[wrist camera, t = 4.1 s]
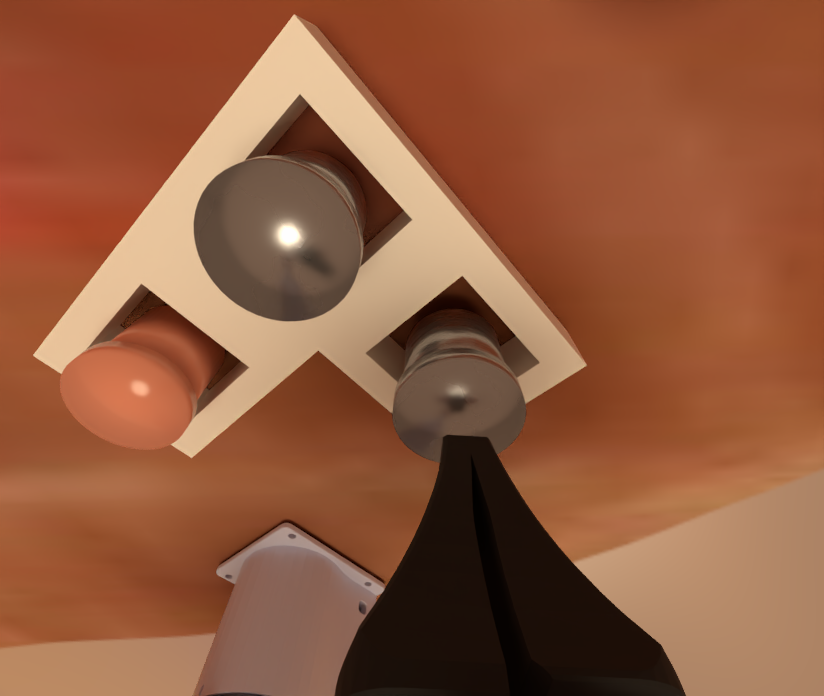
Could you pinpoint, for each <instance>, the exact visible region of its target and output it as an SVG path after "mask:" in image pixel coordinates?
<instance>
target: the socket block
mask: <svg viewBox="0 0 824 696" xmlns="http://www.w3.org/2000/svg"><path fill="white" fill-rule="evenodd" d="M309 104H310V106H311V107H312V108H313V109H314V110H315V111H316V112H317V113H318V115H319V116H320V117H321V118H322V119H323V120H324V121H325V122H326V124H327V125H328V126H329V127H330V128H331V129H332V130H333V131H334V132H335V134H336V135H337V136H338V137H339V138H340V139H341V140H342V141H343V143H344V144H345V145H346V146H347V147H348V148H349V149H350V150H351V152H352V153H353V154H354V155H355V156H356V157H357V158H358V159H359V161H360V162H361V163H362V164H363V165H364V166H365V167H366V168H367V169H368V171H369V172H370V173H371V174H372V175H373V176H374V177H375V178H376V180H377V181H378V182H379V183H380V184H381V185H382V186H383V187H384V189H385V190H386V191H387V192H388V193H389V194H390V195H391V196H392V197H393V199H394V200H395V201H396V202H397V203H398V204H399V205H400V206H401V208H402V209H403V210H404V211H402V212H401V213H400V214H399V215H398V216H397V217H396V218H395V219H394V220H393V221H392V222H391V223H389V224H388V225H387V226H386V227H385V228H384V229H383V230H382V231H381V232H380V233H379V234H378V235H376V236H375V237H374V238H373V239H372V240H371V241H370V242H369V243H368V244H367V245H366V246H365V247H364V248H363V255H362V260H361V265H360V267H359V270H358V273H357V276H356V279H355V281H354V284H353V285H352V287H351V289H350V291H349V292H348V294H347V295H346V297H345V298H344V299H343V300H342V301H341V302H340V303H339V304H338V305H337V306H335V307H334V308H333V309H332V310H330V311H328V312H326V313H325V314H323V315H320V316H318V317H315V318H312V319H308V320H303V321H277V320H272V319H268V318H264V317H261V316H258V315H256V314H254V313H251V312H249V311H247V310H245V309H244V308H242V307H240V306H239V305H237V304H236V303H234V302H233V301H232V300H230V299H229V298H228V297H227V296H226V295H225V294H224V293H223V292H221V290H220V289H219V288H218V287H217V286H216V285H215V284H214V282H213V281H212V280H211V278H210V277H209V275H208V274H207V272H206V270H205V268H204V267H203V265H202V263H201V260H200V258H199V255H198V252H197V249H196V245H195V239H194V216H195V210H196V207H197V204H198V201H199V199H200V197H201V195H202V192H203V191H204V190H205V188H206V187H207V185H208V184H209V183H210V182H211V181H212V180H213V179H214V178H215V177H216V176H217V175H218V174H220V173H221V172H222V171H224V170H225V169H227V168H229V167H231V166H233V165H236V164H238V163H240V162H243V161H245V160H248V159H251V158H254V157H260V156H266V155H267V153H268V152H269V151H270V150H271V149H272V148H273V146H274V145H275V144H276V143H277V142H278V141H279V139H280V138H281V137H282V136H283V135H284V134H285V132H286V131H287V130H288V129H289V128H290V127H291V125H292V124H293V123H294V122H295V121H296V120H297V118H298V117H299V116H300V115H301V114H302V113H303V111H304V110H305V109H306V108H307V107H308V106H309ZM461 276H463V277H464V278H465V279H466V280H467V282H468V283H469V284H470V285H471V286H472V287H473V288H474V289H475V290H476V292H477V293H478V294H479V295H480V296H481V297H482V298H483V299H484V301H485V302H486V303H487V304H488V305H489V306H490V307H491V308H492V310H493V311H494V312H495V313H496V314H497V315H498V316H499V317H500V318H501V320H502V321H503V322H504V323H505V324H506V325H507V326H508V327H509V329H510V330H511V331H512V332H513V333H514V334H515V335H516V336H515V337H513V338H512V339H510V340H509V341H508V342H506V343H505V344H503V345H502V346H500V349H501V352H502V356H503V359H504V363H505V364H506V365H508V366H509V367H510V369H511V370H512V371H513V372H514V374H515V375H516V377H517V379H518V381H519V384H520V387H521V390H522V393H523V396H524V399H525V404H526V403H527V402H529V401H531V400H532V399H534V398H535V397H537V396H539V395H540V394H542V393H543V392H545V391H547V390H548V389H550V388H551V387H553V386H555V385H556V384H558V383H559V382H561V381H563V380H564V379H566V378H567V377H569V376H571V375H572V374H574V373H576V372H577V371H579V370H580V369H582V368H584V367H585V366H587V365H586V363H585V361H584V359H583V358H582V356H581V354H580V352H579V351H578V349H577V347H576V345H575V344H574V342H573V340H572V339H571V337H570V335H569V333H568V332H567V330H566V329H565V328H564V327H563V325H562V324H561V323H560V322H559V320H558V319H557V318H556V317H555V316H554V314H553V313H552V312H551V311H550V310H549V308H548V307H547V306H546V305H545V303H544V302H543V301H542V300H541V299H540V297H539V296H538V295H537V294H536V293H535V291H534V290H533V289H532V288H531V286H530V285H529V284H528V283H527V282H526V280H525V279H524V278H523V277H522V275H521V274H520V273H519V272H518V271H517V269H516V268H515V267H514V266H513V265H512V263H511V262H510V261H509V260H508V258H507V257H506V256H505V255H504V254H503V252H502V251H501V250H500V249H499V247H498V246H497V245H496V244H495V243H494V241H493V240H492V239H491V238H490V237H489V235H488V234H487V233H486V232H485V230H484V229H483V228H482V227H481V226H480V224H479V223H478V222H477V221H476V220H475V218H474V217H473V216H472V215H471V213H470V212H469V211H468V210H467V209H466V207H465V206H464V205H463V204H462V202H461V201H460V200H459V199H458V198H457V196H456V195H455V194H454V193H453V192H452V190H451V189H450V188H449V187H448V185H447V184H446V183H445V182H444V181H443V179H442V178H441V177H440V176H439V175H438V173H437V172H436V171H435V170H434V168H433V167H432V166H431V165H430V164H429V162H428V161H427V160H426V159H425V157H424V156H423V155H422V154H421V153H420V151H419V150H418V149H417V148H416V147H415V145H414V144H413V143H412V142H411V140H410V139H409V138H408V137H407V136H406V134H405V133H404V132H403V131H402V129H401V128H400V127H399V126H398V125H397V123H396V122H395V121H394V120H393V119H392V117H391V116H390V115H389V114H388V112H387V111H386V110H385V109H384V108H383V106H382V105H381V104H380V103H379V102H378V100H377V99H376V98H375V97H374V95H373V94H372V93H371V92H370V91H369V89H368V88H367V87H366V86H365V84H364V83H363V82H362V81H361V80H360V78H359V77H358V76H357V75H356V74H355V72H354V71H353V70H352V69H351V67H350V66H349V65H348V64H347V63H346V61H345V60H344V59H343V58H342V56H341V55H340V54H339V53H338V52H337V50H336V49H335V48H334V47H333V46H332V44H331V43H330V42H329V41H328V39H327V38H326V37H325V36H324V35H323V33H322V32H321V31H320V30H319V29H318V27H317V26H315V25H314V24H312V23H310V22H308V21H306V20H304V19H302V18H300V17H299V16H297V15H295V14H294V15H293V17H292V18H291V19H290V21H289V22H288V23H287V24H286V26H285V27H284V28H283V30H282V31H281V32H280V34H279V35H278V36H277V38H276V39H275V40H274V41H273V43H272V44H271V45H270V47H269V48H268V49H267V51H266V52H265V53H264V55H263V56H262V57H261V58H260V60H259V61H258V62H257V64H256V65H255V66H254V68H253V69H252V70H251V71H250V73H249V74H248V75H247V77H246V78H245V79H244V81H243V82H242V83H241V85H240V86H239V87H238V88H237V90H236V91H235V92H234V94H233V95H232V96H231V98H230V99H229V100H228V102H227V103H226V104H225V105H224V107H223V108H222V109H221V111H220V112H219V113H218V115H217V116H216V117H215V118H214V120H213V121H212V122H211V124H210V125H209V126H208V128H207V129H206V130H205V132H204V133H203V134H202V135H201V137H200V138H199V139H198V141H197V142H196V143H195V145H194V146H193V147H192V148H191V150H190V151H189V152H188V154H187V155H186V156H185V158H184V159H183V160H182V162H181V163H180V164H179V165H178V167H177V168H176V169H175V171H174V172H173V173H172V175H171V176H170V177H169V179H168V180H167V181H166V182H165V184H164V185H163V186H162V188H161V189H160V190H159V192H158V193H157V194H156V195H155V197H154V198H153V199H152V201H151V202H150V203H149V205H148V206H147V207H146V209H145V210H144V211H143V212H142V214H141V215H140V216H139V218H138V219H137V220H136V222H135V223H134V224H133V226H132V227H131V228H130V229H129V231H128V232H127V233H126V235H125V236H124V237H123V239H122V240H121V241H120V242H119V244H118V245H117V246H116V248H115V249H114V250H113V252H112V253H111V254H110V256H109V257H108V258H107V259H106V261H105V262H104V263H103V265H102V266H101V267H100V269H99V270H98V271H97V272H96V274H95V275H94V276H93V278H92V279H91V280H90V282H89V283H88V284H87V286H86V287H85V288H84V289H83V291H82V292H81V293H80V295H79V296H78V297H77V299H76V300H75V301H74V303H73V304H72V305H71V306H70V308H69V309H68V310H67V312H66V313H65V314H64V316H63V317H62V318H61V319H60V321H59V322H58V323H57V325H56V326H55V327H54V329H53V330H52V331H51V333H50V334H49V335H48V336H47V338H46V339H45V340H44V342H43V343H42V344H41V346H40V347H39V348H38V350H37V351H36V352H35V353H34V355H33V356H34V357H36V358H37V359H39V360H41V361H42V362H44V363H45V364H47V365H48V366H50V367H51V368H53V369H55V370H56V371H58V372H59V373H61V374H62V372H63V370H64V369H65V367H66V366H67V365H68V364H69V363H70V362H71V361H72V360H73V359H75V358H76V357H77V356H79V355H80V354H81V353H82V352H84V351H85V350H86V349H88V348H89V347H91V346H93V345H95V344H98V343H102V342H107V341H111V340H112V339H114V338H115V337H116V336H117V335H119V334H120V333H121V332H122V331H124V330H125V328H123V327H122V326H120V325H121V324H122V323H123V322H124V320H125V319H126V318H127V317H128V316H129V315H130V313H131V312H132V311H133V310H134V309H135V308H136V306H137V305H138V304H139V303H140V302H141V301H142V299H143V298H144V297H145V296H146V295H147V294H148V292H149V291H152V292H153V293H154V294H156V295H157V296H158V297H159V298H161V299H162V300H163V301H165V302H166V303H167V304H168V305H170V306H171V307H172V308H174V309H175V310H176V311H177V312H179V313H180V314H181V315H183V316H184V317H185V318H186V319H188V320H189V321H190V322H192V323H193V324H194V325H195V326H197V327H198V328H199V329H201V330H202V331H203V332H204V333H206V334H207V335H208V336H210V337H211V338H212V339H213V340H215V341H216V342H217V343H219V344H220V345H221V346H222V347H224V348H225V349H226V350H228V351H229V352H230V353H231V354H233V355H234V356H235V357H237V358H238V359H239V360H240V362H239V363H238V364H237V365H236V366H235V367H234V368H233V369H232V370H231V371H229V372H228V373H227V374H226V375H225V376H224V377H223V378H222V379H221V380H220V381H219V382H218V383H216V384H215V385H214V386H213V387H212V388H211V389H210V390H209V389H207V388H206V389H205V390H204V392H203V393H202V394H201V396H200V397H199V399H198V400H197V410H196V414H195V416H194V418H193V420H192V422H191V423H190V424H189V426H188V427H187V429H186V430H185V432H184V433H183V435H182V436H181V437H180V438H179V439H178V440H177V441H175V442H174V443H172V444H171V445H172V446H174V447H175V448H177V449H178V450H180V451H182V452H183V453H185V454H186V455H188V456H189V457H191V458H192V457H193V456H195V455H196V454H197V453H198V452H199V451H200V450H202V449H203V448H204V447H205V446H206V445H208V444H209V443H210V442H211V441H212V440H213V439H215V438H216V437H217V436H218V435H219V434H220V433H222V432H223V431H224V430H225V429H226V428H228V427H229V426H230V425H231V424H232V423H233V422H235V421H236V420H237V419H238V418H239V417H240V416H242V415H243V414H244V413H245V412H246V411H248V410H249V409H250V408H251V407H252V406H253V405H255V404H256V403H257V402H258V401H259V400H260V399H262V398H263V397H264V396H265V395H266V394H268V393H269V392H270V391H271V390H272V389H273V388H275V387H276V386H277V385H278V384H279V383H281V382H282V381H283V380H284V379H285V378H286V377H288V376H289V375H290V374H291V373H292V372H293V371H295V370H296V369H297V368H298V367H299V366H301V365H302V364H303V363H304V362H305V361H306V360H308V359H309V358H310V357H311V356H312V355H313V354H315V353H316V352H317V351H319V352H321V353H322V354H323V355H324V356H325V357H326V358H328V359H329V360H330V361H331V362H332V363H333V364H335V365H336V366H337V367H338V368H339V369H340V370H342V371H343V372H344V373H345V374H346V375H347V376H349V377H350V378H351V379H352V380H353V381H354V382H356V383H357V384H358V385H359V386H360V387H361V388H363V389H364V390H365V391H366V392H367V393H368V394H370V395H371V396H372V397H373V398H374V399H375V400H377V401H378V402H379V403H380V404H381V405H382V406H384V407H385V408H386V409H387V410H388V411H389V412H391V413H392V412H393V401H394V393H395V389H396V385H397V383H398V381H399V379H400V378H401V376H402V375H403V373H404V366H405V352H406V351H405V350H404V349H403V348H401V347H400V346H399V345H398V344H397V343H396V342H395V341H394V340H393V339H392V338H391V337H390V336H389V334H390V333H391V332H392V331H394V330H395V329H396V328H397V327H399V326H400V325H401V324H402V323H404V322H405V321H406V320H407V319H409V318H410V317H411V316H412V315H414V314H415V313H416V312H417V311H419V310H420V309H421V308H422V307H424V306H425V305H426V304H427V303H429V302H430V301H431V300H432V299H434V298H435V297H436V296H437V295H439V294H440V293H441V292H442V291H444V290H445V289H446V288H447V287H449V286H450V285H451V284H452V283H454V282H455V281H456V280H457V279H459V278H460V277H461Z"/></svg>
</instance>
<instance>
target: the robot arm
mask: <svg viewBox="0 0 824 696" xmlns="http://www.w3.org/2000/svg"><path fill="white" fill-rule="evenodd" d="M216 573H217V575H219V576H220V577H222V578H224V579H226V580H228V581H229V582H231V583H233V584H235V585H234V588H233V591H232V593H231V596H230V599H229V601H228V604H227V606H226V609H225V612H224V614H223V617H222V620H221V622H220V625H219V627H218V630H217V633H216V635H215V638H214V641H213V643H212V646H211V649H210V651H209V654H208V656H207V659H206V662H205V664H204V667H203V670H202V672H201V675H200V678H199V681H198V683H197V686H196V688H195V691H194V693H193V696H686V695H685V692H684V690H683V688H682V685H681V683H680V680H679V678H678V676H677V674H676V672H675V670H674V668H673V666H672V664H671V662H670V661H669V659H668V657H667V655H666V653H665V652H664V650H663V648H662V646H661V644H659V643H658V642H657V641H656V640H655V639H653V638H652V637H651V636H650V635H648V634H647V633H646V632H645V631H644V630H643V629H641V628H640V627H639V626H638V625H637V624H635V623H634V622H633V621H632V620H631V619H629V618H628V617H627V616H626V615H625V614H624V613H622V612H621V611H620V610H619V609H618V608H617V607H616V606H615V605H614V604H613V603H612V602H611V601H610V600H609V599H607V598H606V597H605V596H604V595H603V594H602V593H601V592H600V591H599V590H598V589H597V588H596V587H595V586H594V585H593V584H592V582H591V581H589V579H587V577H586V576H585V575H584V574H582V572H581V571H580V570H579V569H578V568H577V567H576V566H575V565H574V564H573V563H572V562H571V560H570V559H569V558H568V557H567V556H566V555H565V554H564V552H563V551H562V550H561V549H560V548H559V547H558V545H557V544H556V543H555V542H554V540H553V539H552V538H551V537H550V536H549V534H548V533H547V532H546V530H545V529H544V528H543V526H542V525H541V524H540V522H539V521H538V520H537V518H536V517H535V515H534V514H533V513H532V511H531V510H530V508H529V507H528V506H527V504H526V503H525V501H524V500H523V498H522V496H521V495H520V493H519V492H518V490H517V488H516V487H515V485H514V484H513V482H512V480H511V479H510V477H509V475H508V474H507V472H506V470H505V468H504V467H503V465H502V463H501V461H500V459H499V457H498V456H497V454H496V452H495V450H494V447H493V445H492V443H491V441H490V440H489V438H488V437H480V436H461V435H446V436H444V437H443V440H442V448H441V457H440V466H439V472H438V476H437V479H436V483H435V486H434V489H433V492H432V495H431V498H430V500H429V503H428V506H427V508H426V511H425V513H424V516H423V518H422V521H421V523H420V525H419V527H418V529H417V532H416V534H415V536H414V538H413V540H412V542H411V544H410V546H409V548H408V550H407V552H406V553H405V555H404V557H403V559H402V561H401V563H400V565H399V566H398V568H397V570H396V571H395V573H394V575H393V576H392V578H391V579H390V581H389V583H388V584H387V586H386V588H385V584H384V583H382V582H381V581H379V580H378V579H376V578H375V577H373V576H372V575H370V574H368V573H367V572H365V571H364V570H362V569H361V568H359V567H358V566H356V565H354V564H353V563H351V562H350V561H348V560H347V559H345V558H344V557H342V556H340V555H339V554H337V553H336V552H334V551H333V550H331V549H330V548H328V547H326V546H325V545H323V544H322V543H320V542H319V541H317V540H316V539H314V538H312V537H311V536H309V535H308V534H306V533H305V532H303V531H302V530H300V529H298V528H297V527H295V526H294V525H292V524H290V523H283V524H281V525H279V526H278V527H276V528H275V529H273V530H272V531H270V532H269V533H267V534H266V535H264V536H263V537H261V538H260V539H258V540H257V541H255V542H254V543H252V544H251V545H249V546H248V547H246V548H245V549H243V550H242V551H240V552H239V553H237V554H236V555H234V556H233V557H231V558H230V559H228V560H227V561H225V562H224V563H222V564H221V565H219V566H218V568H217V570H216ZM381 593H382V594H381ZM379 594H381V596H380V597H379V599H378V600H377V602H376V596H377V595H379Z"/></svg>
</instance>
